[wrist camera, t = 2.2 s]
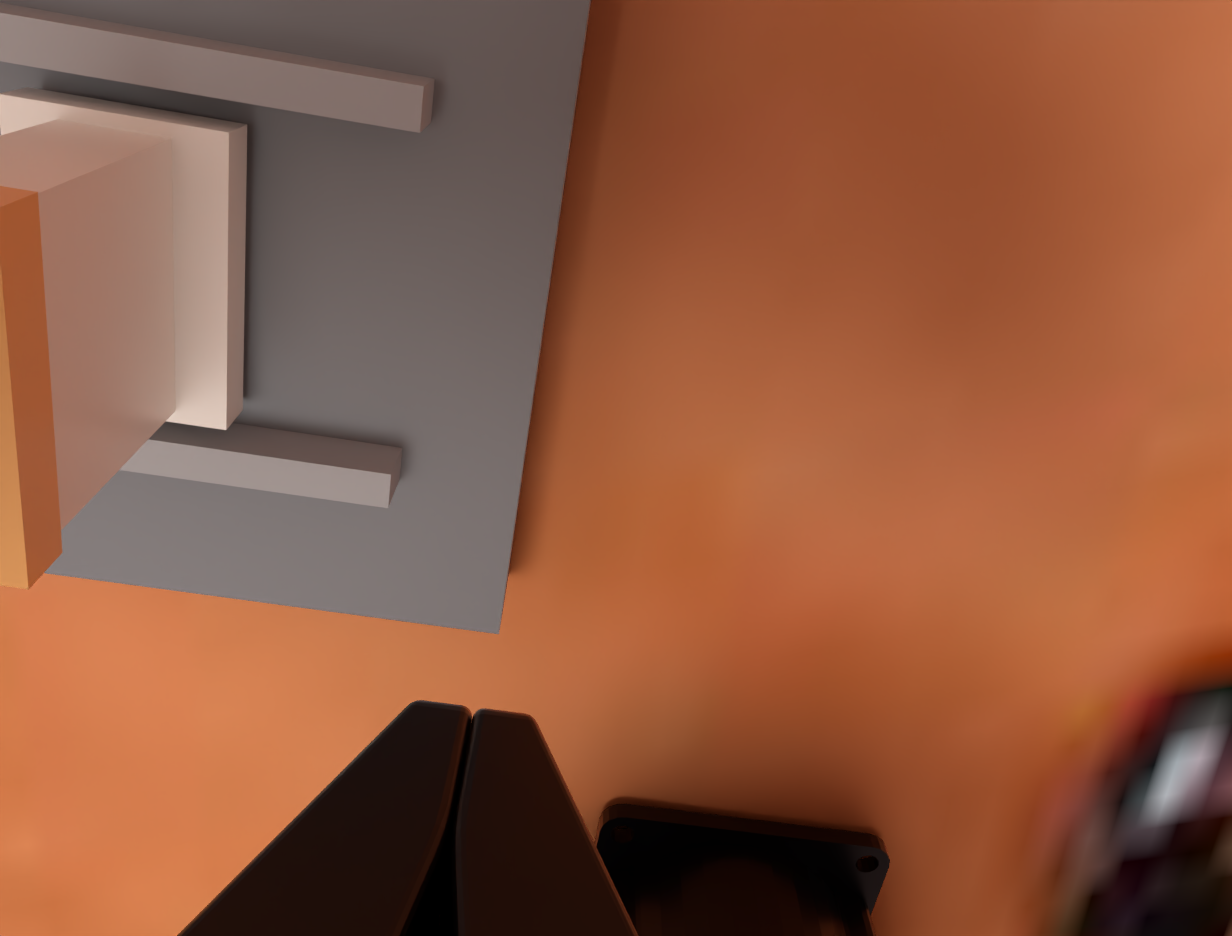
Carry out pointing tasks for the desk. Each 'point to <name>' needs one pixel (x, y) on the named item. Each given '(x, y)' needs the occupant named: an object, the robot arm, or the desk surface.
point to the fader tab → (109, 298)
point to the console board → (344, 291)
